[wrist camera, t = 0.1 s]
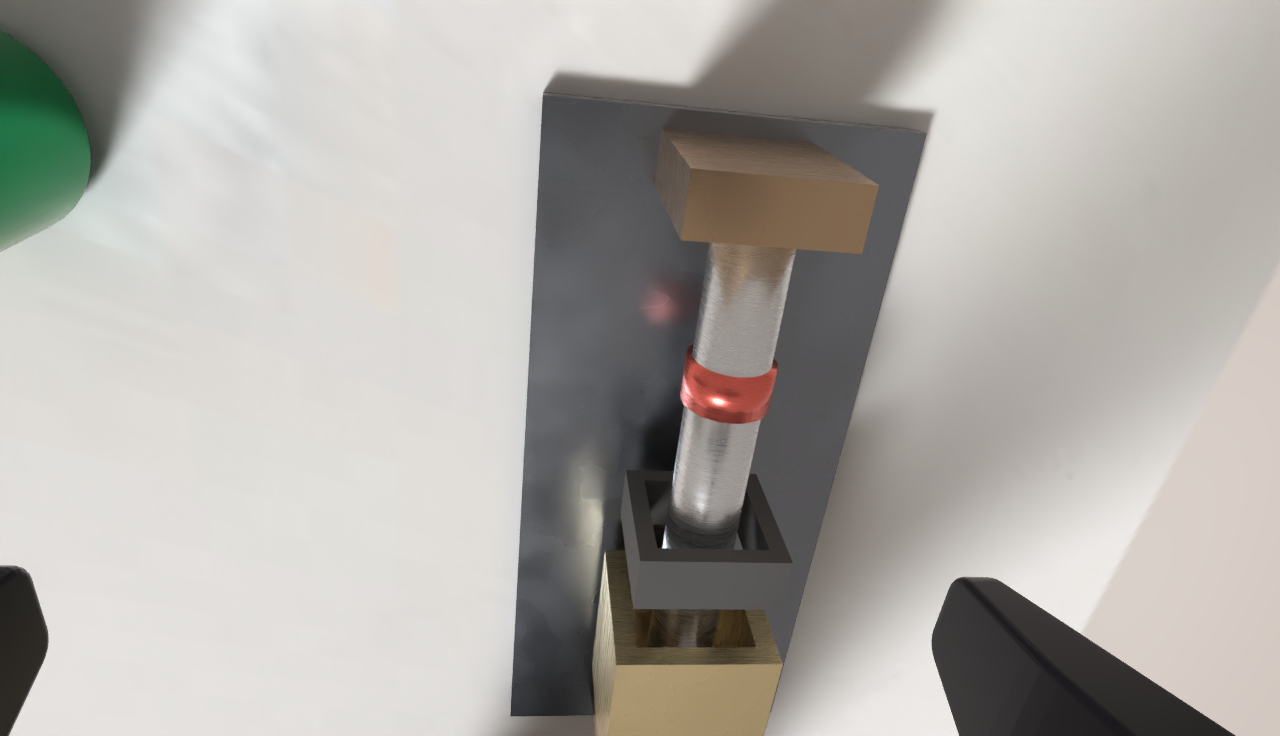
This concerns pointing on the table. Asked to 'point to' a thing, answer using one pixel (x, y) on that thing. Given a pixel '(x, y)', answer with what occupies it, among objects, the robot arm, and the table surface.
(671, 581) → the dark grey square collar
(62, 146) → the soda can
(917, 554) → the table surface
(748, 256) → the pipe rig
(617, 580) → the sleeve
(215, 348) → the table surface
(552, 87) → the table surface
